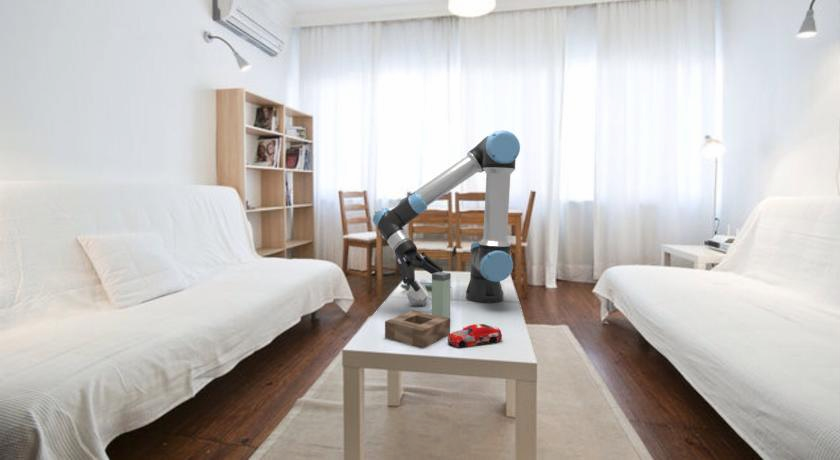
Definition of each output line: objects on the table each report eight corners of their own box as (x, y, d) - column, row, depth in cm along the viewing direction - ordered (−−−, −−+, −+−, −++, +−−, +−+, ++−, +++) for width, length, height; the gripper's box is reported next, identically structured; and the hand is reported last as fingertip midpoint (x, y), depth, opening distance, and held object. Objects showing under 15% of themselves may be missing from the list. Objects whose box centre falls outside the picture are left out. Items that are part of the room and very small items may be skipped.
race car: (452, 350, 116) (452, 333, 116) (444, 342, 123) (444, 325, 122) (505, 343, 121) (505, 327, 121) (494, 336, 128) (494, 320, 127)
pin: (439, 317, 145) (439, 271, 144) (450, 319, 143) (450, 273, 141) (431, 320, 142) (431, 273, 140) (442, 323, 139) (443, 275, 137)
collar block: (413, 325, 136) (413, 310, 136) (450, 334, 128) (450, 318, 128) (385, 337, 125) (384, 321, 125) (423, 348, 117) (423, 330, 117)
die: (420, 310, 156) (434, 288, 158) (401, 298, 157) (414, 276, 159) (420, 312, 164) (433, 291, 166) (401, 300, 165) (414, 279, 167)
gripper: (417, 248, 161) (450, 293, 153) (372, 256, 141) (408, 308, 133) (429, 235, 157) (463, 280, 150) (384, 242, 137) (421, 294, 130)
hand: (437, 294), depth 141 cm, fingers open, 13 cm apart
